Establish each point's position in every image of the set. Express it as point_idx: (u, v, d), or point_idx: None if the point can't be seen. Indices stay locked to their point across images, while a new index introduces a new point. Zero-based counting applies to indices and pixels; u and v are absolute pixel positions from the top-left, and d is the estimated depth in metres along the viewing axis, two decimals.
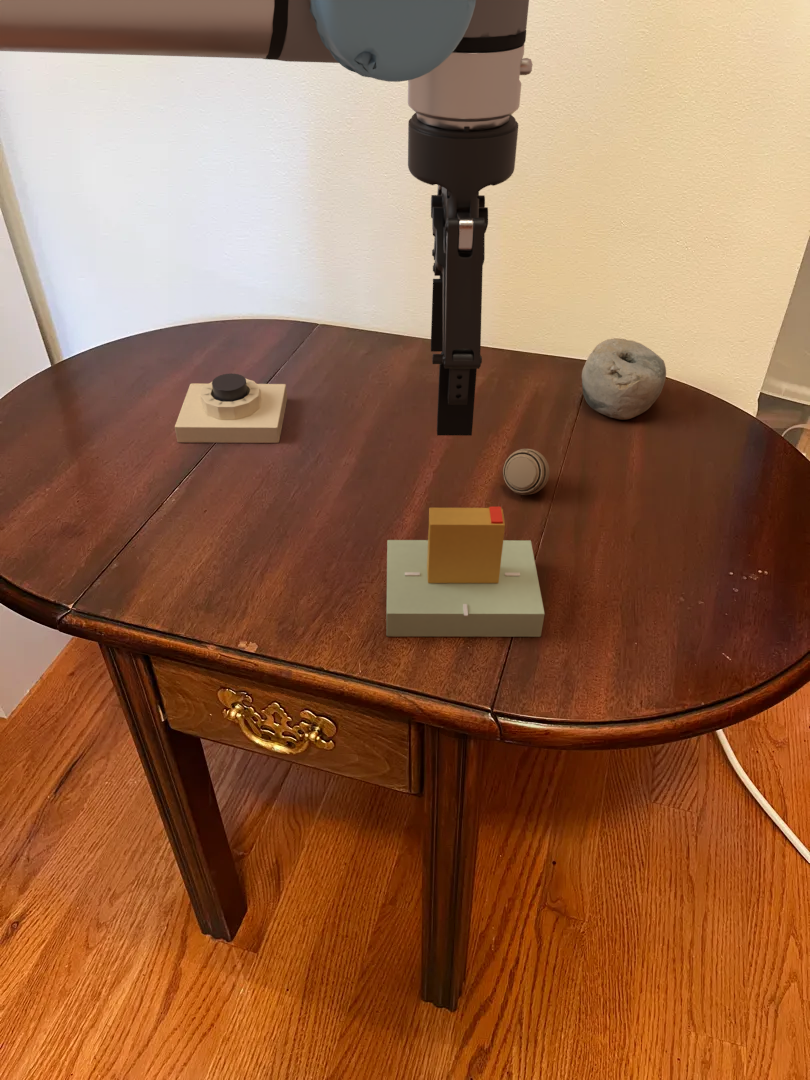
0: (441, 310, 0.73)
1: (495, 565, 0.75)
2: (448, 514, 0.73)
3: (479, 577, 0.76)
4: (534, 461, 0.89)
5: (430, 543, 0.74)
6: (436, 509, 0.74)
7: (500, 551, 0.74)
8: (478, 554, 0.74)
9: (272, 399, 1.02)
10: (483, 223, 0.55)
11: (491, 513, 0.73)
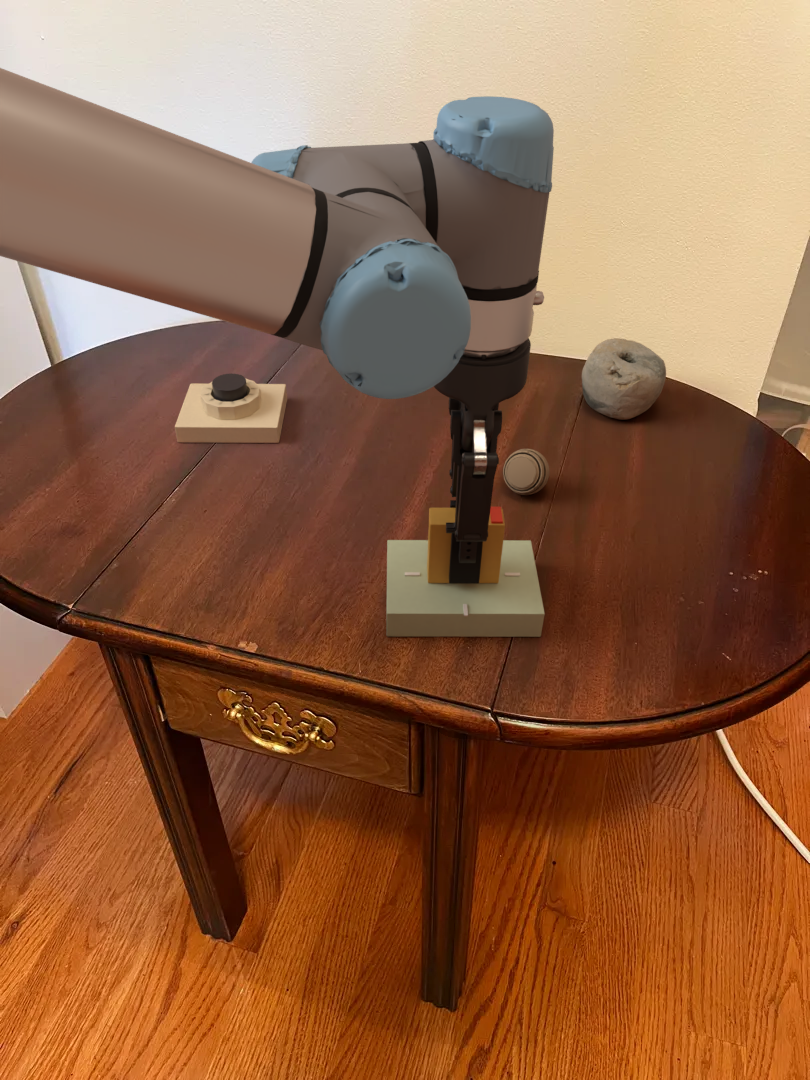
0: None
1: (495, 565, 0.75)
2: (448, 514, 0.73)
3: None
4: (534, 461, 0.89)
5: (430, 543, 0.74)
6: (436, 509, 0.74)
7: (500, 551, 0.74)
8: None
9: (272, 399, 1.02)
10: (496, 463, 0.62)
11: (491, 513, 0.73)
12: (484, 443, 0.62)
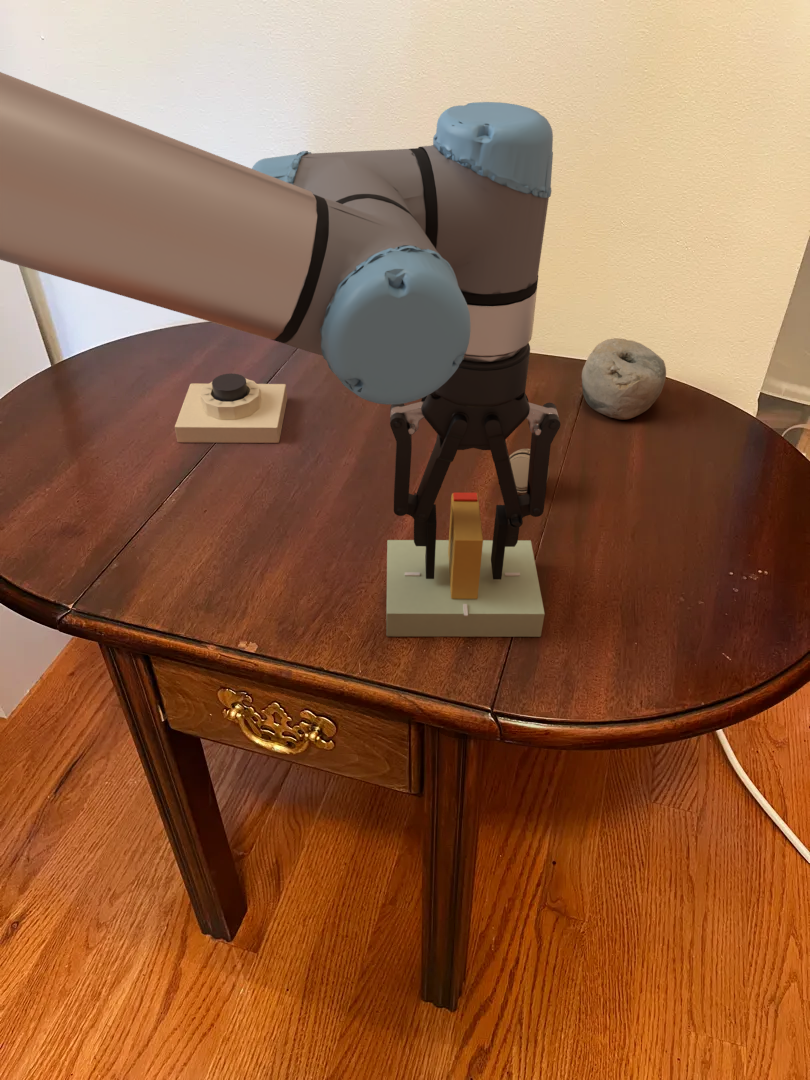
0: None
1: None
2: (466, 527, 0.72)
3: None
4: None
5: None
6: (457, 535, 0.71)
7: None
8: None
9: (272, 399, 1.02)
10: None
11: (464, 498, 0.75)
12: (538, 406, 0.66)
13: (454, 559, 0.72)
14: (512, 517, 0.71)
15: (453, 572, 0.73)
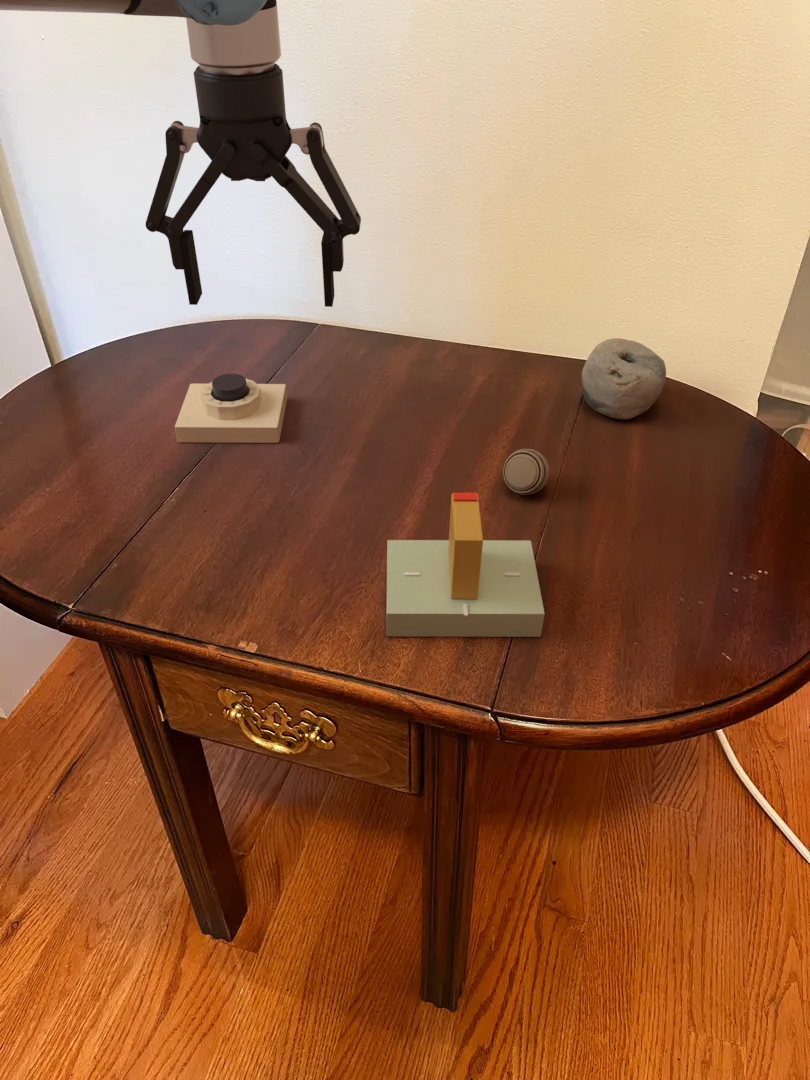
0: (192, 263, 0.82)
1: None
2: (466, 527, 0.72)
3: None
4: (534, 461, 0.89)
5: None
6: (457, 535, 0.71)
7: None
8: None
9: (272, 399, 1.02)
10: (319, 124, 0.75)
11: (464, 498, 0.75)
12: (300, 128, 0.75)
13: (454, 559, 0.72)
14: (332, 235, 0.79)
15: (453, 572, 0.73)
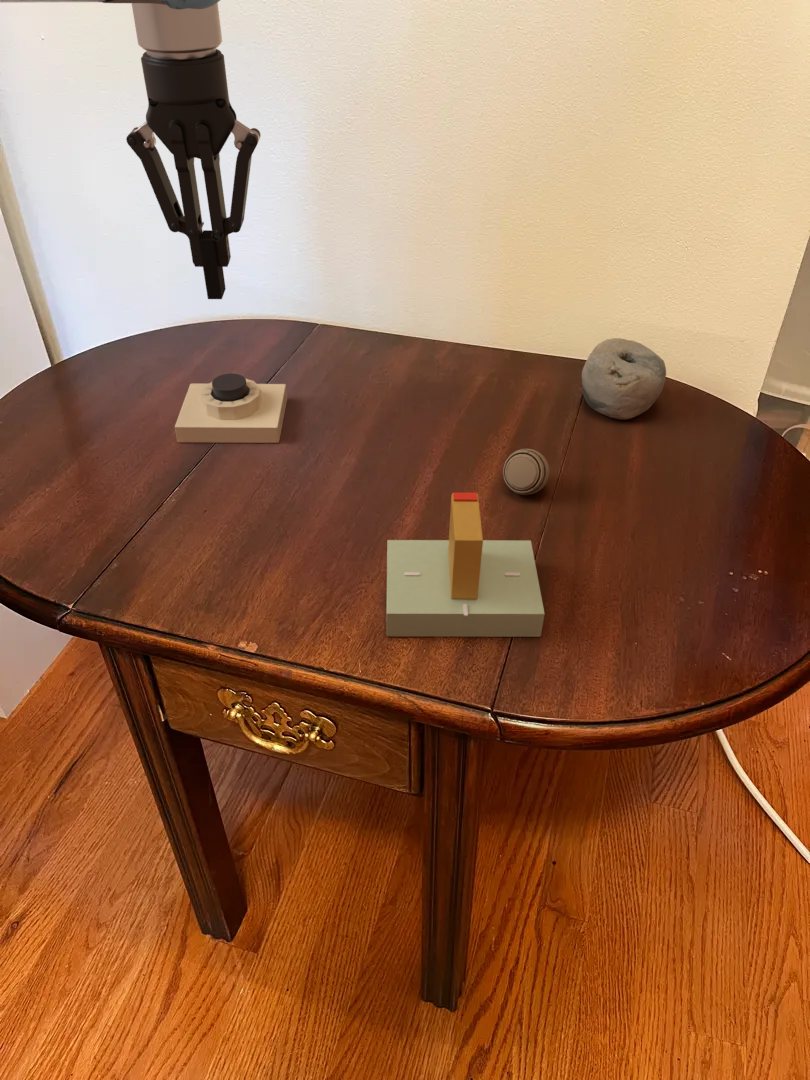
0: None
1: None
2: (466, 527, 0.72)
3: None
4: (534, 461, 0.89)
5: None
6: (457, 535, 0.71)
7: None
8: None
9: (272, 399, 1.02)
10: None
11: (464, 498, 0.75)
12: (244, 125, 0.81)
13: (454, 559, 0.72)
14: (215, 232, 0.86)
15: (453, 572, 0.73)
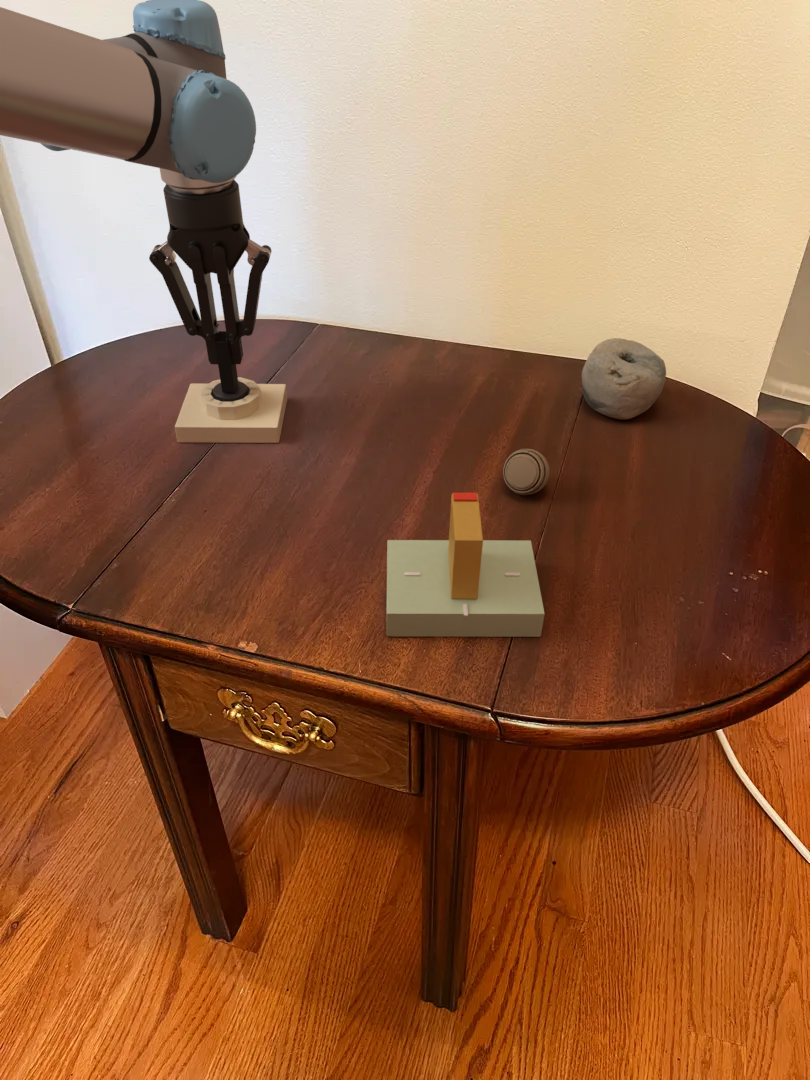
0: None
1: None
2: (466, 527, 0.72)
3: None
4: (534, 461, 0.89)
5: None
6: (457, 535, 0.71)
7: None
8: None
9: (272, 399, 1.02)
10: None
11: (464, 498, 0.75)
12: (256, 244, 0.89)
13: (454, 559, 0.72)
14: (230, 335, 0.94)
15: (453, 572, 0.73)
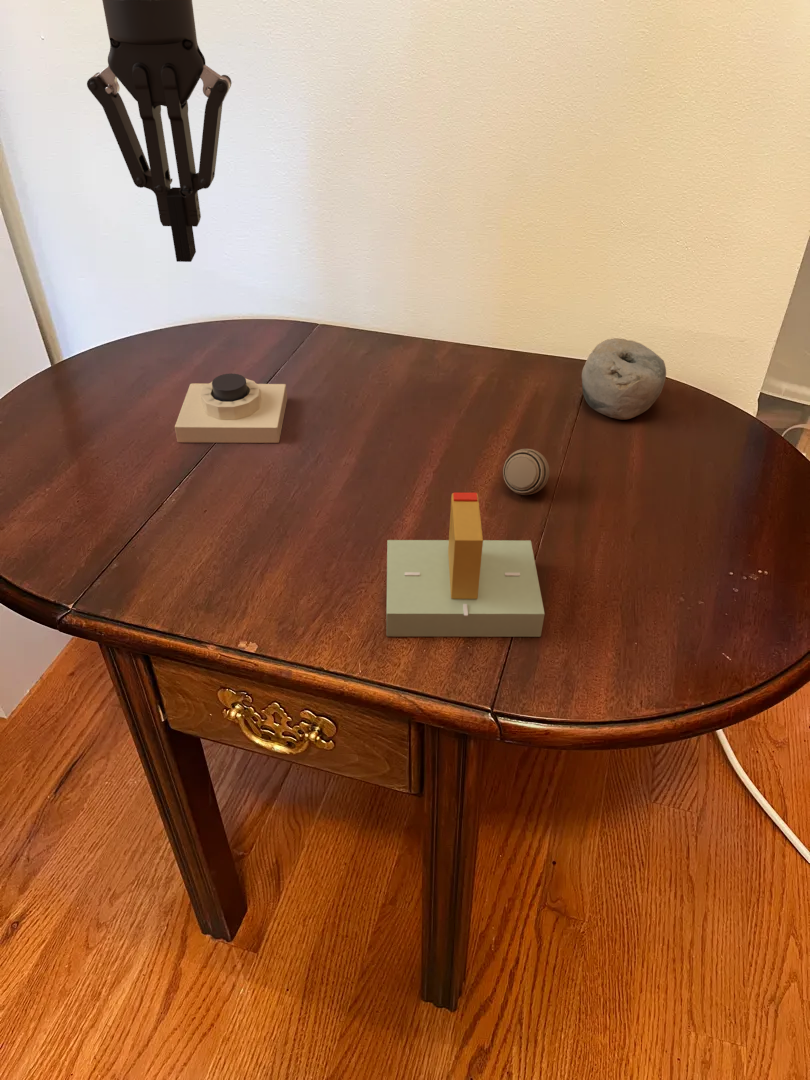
0: None
1: None
2: (466, 527, 0.72)
3: None
4: (534, 461, 0.89)
5: None
6: (457, 535, 0.71)
7: None
8: None
9: (272, 399, 1.02)
10: None
11: (464, 498, 0.75)
12: (213, 71, 0.76)
13: (454, 559, 0.72)
14: (184, 188, 0.81)
15: (453, 572, 0.73)
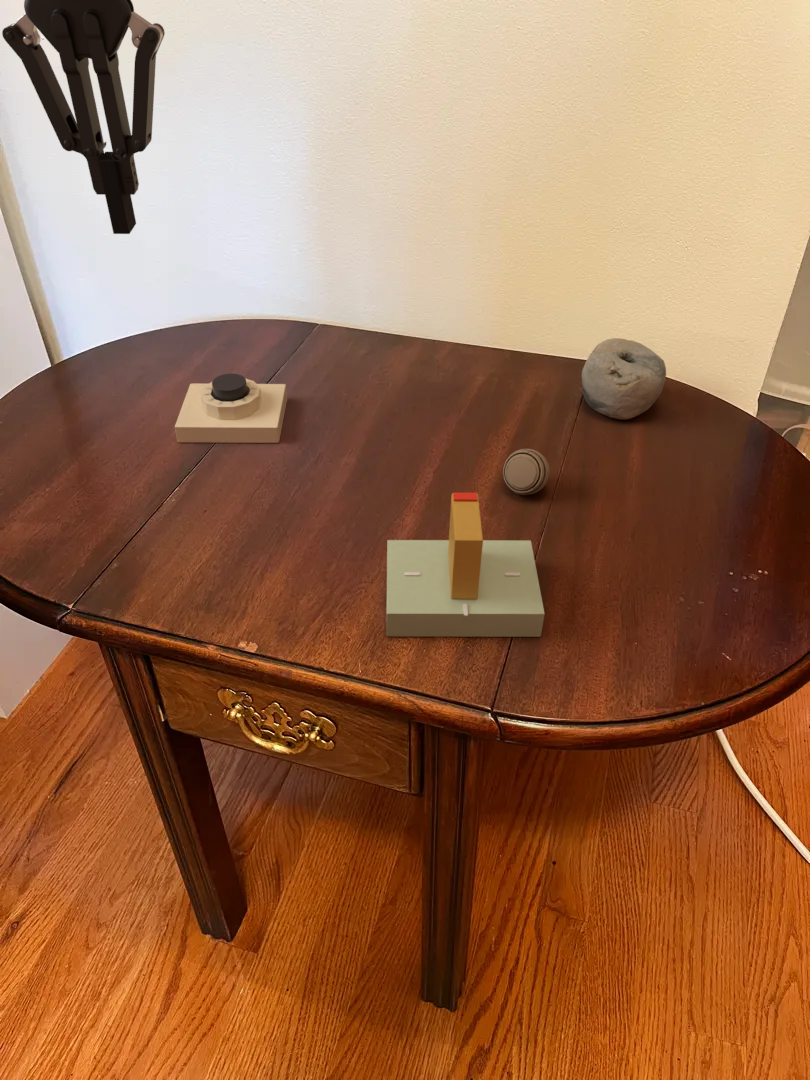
0: None
1: None
2: (466, 527, 0.72)
3: None
4: (534, 461, 0.89)
5: None
6: (457, 535, 0.71)
7: None
8: None
9: (272, 399, 1.02)
10: None
11: (464, 498, 0.75)
12: (143, 18, 0.69)
13: (454, 559, 0.72)
14: (116, 151, 0.74)
15: (453, 572, 0.73)
